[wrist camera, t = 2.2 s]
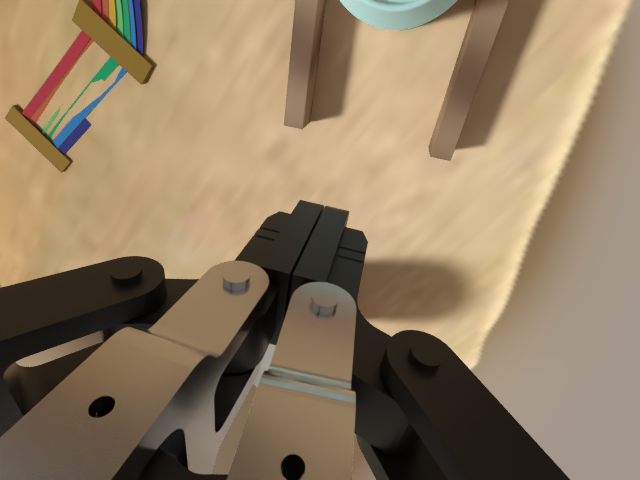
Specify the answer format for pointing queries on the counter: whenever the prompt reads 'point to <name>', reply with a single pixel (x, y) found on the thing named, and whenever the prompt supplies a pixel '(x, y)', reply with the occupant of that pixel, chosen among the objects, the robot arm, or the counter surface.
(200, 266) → the counter surface
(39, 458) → the robot arm
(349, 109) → the counter surface
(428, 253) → the counter surface
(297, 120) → the channel
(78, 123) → the ribbon cable
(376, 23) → the can
